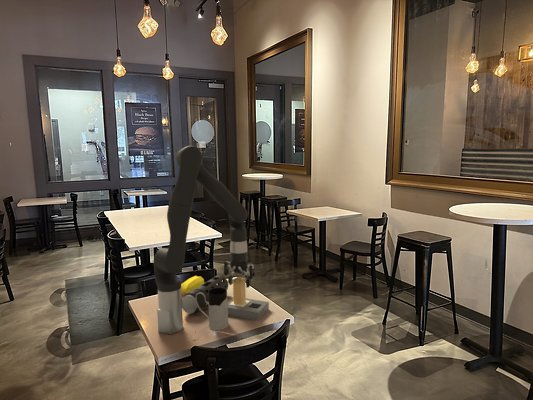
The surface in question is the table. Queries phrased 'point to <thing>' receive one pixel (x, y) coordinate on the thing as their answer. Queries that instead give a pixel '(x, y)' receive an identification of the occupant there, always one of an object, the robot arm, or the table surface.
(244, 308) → the block
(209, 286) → the muzzle brake
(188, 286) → the yellow banana
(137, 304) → the table surface
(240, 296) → the plug
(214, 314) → the white pitcher
